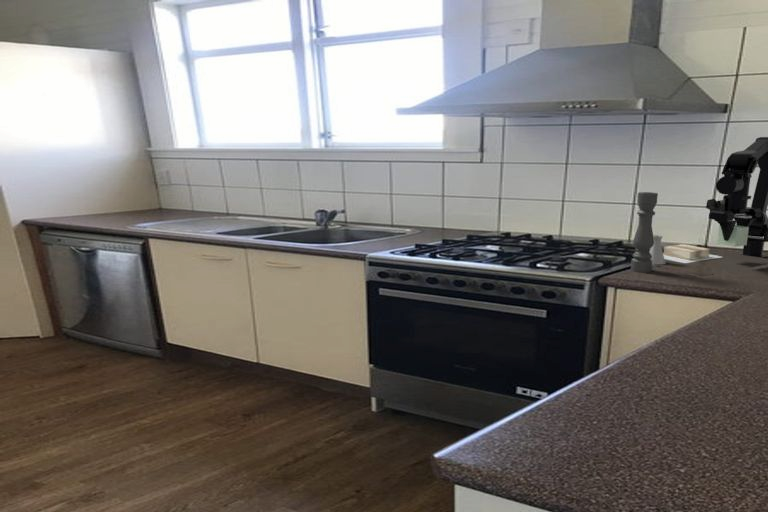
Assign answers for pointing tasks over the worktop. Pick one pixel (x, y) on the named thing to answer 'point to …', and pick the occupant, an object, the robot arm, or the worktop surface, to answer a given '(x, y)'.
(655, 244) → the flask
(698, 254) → the birch plinth
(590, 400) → the worktop surface
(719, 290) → the worktop surface
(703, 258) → the pale blue-grey board
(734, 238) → the sage cube
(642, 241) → the candle holder
